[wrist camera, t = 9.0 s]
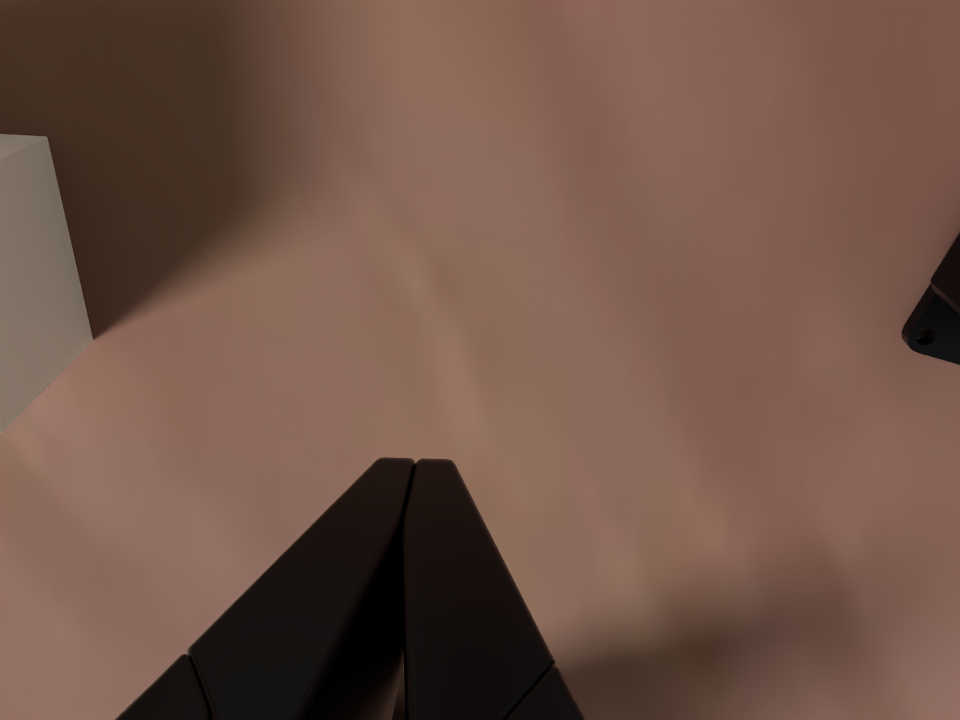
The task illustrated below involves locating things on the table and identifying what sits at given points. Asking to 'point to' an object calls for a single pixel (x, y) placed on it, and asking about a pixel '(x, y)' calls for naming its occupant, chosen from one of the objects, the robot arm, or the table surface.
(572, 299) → the table surface
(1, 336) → the plain cream block
